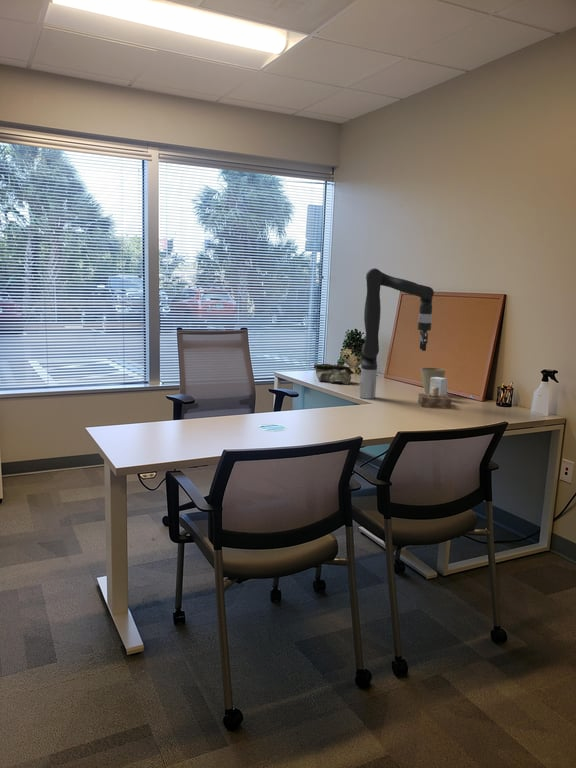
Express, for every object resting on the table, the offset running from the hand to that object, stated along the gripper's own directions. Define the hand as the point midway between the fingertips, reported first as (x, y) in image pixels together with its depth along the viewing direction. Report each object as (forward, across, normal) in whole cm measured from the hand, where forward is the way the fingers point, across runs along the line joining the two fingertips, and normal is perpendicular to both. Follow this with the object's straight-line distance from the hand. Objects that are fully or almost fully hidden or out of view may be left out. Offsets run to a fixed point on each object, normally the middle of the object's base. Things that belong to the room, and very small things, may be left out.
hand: (422, 349), depth 334 cm
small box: (+30, -7, +12) cm, 33 cm away
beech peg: (+30, +11, +7) cm, 33 cm away
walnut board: (+30, +11, +7) cm, 33 cm away
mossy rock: (+30, -52, -51) cm, 79 cm away
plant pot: (+30, -24, +11) cm, 40 cm away
